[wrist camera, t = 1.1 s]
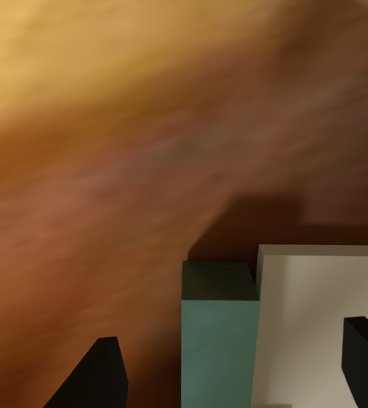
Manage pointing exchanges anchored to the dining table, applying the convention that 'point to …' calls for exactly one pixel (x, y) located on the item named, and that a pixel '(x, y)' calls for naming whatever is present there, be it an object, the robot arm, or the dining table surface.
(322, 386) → the stool seat
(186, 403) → the dark green rectangular beam
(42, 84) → the dining table surface
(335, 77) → the dining table surface
